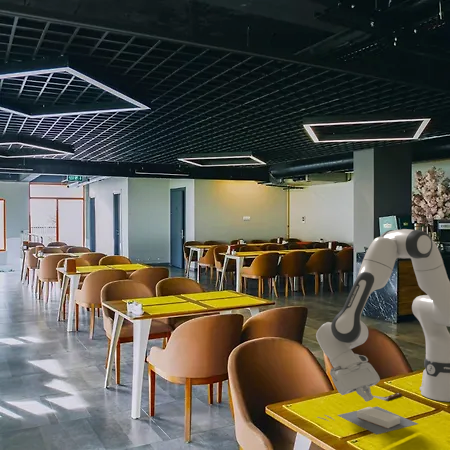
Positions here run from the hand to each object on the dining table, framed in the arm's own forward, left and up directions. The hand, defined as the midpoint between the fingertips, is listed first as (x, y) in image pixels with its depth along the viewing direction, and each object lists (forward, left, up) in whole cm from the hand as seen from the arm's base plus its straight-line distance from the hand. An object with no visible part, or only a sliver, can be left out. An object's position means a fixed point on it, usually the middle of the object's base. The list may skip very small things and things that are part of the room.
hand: (369, 399), depth 167 cm
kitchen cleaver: (-18, -14, -7) cm, 24 cm away
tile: (+1, -3, -5) cm, 6 cm away
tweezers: (+13, -2, -8) cm, 15 cm away
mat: (-1, +2, -7) cm, 7 cm away
